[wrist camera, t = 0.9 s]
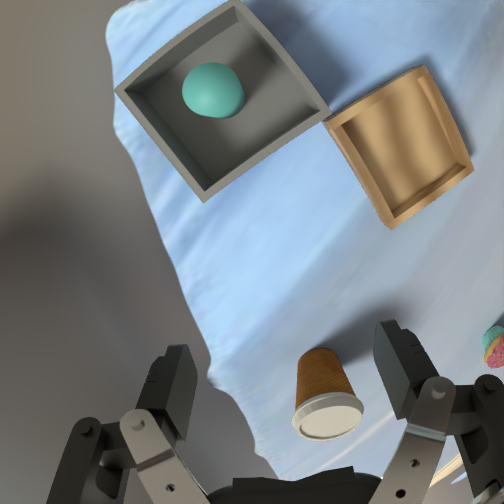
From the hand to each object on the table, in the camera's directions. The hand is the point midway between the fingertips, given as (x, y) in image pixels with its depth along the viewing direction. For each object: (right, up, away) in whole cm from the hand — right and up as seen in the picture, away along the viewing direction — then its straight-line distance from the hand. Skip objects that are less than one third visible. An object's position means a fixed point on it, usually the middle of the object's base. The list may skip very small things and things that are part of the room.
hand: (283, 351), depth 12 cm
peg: (-4, +20, +16) cm, 26 cm away
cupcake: (+45, -12, +30) cm, 55 cm away
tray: (+16, +17, +18) cm, 29 cm away
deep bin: (-4, +20, +17) cm, 27 cm away
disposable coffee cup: (+9, -13, +32) cm, 36 cm away
